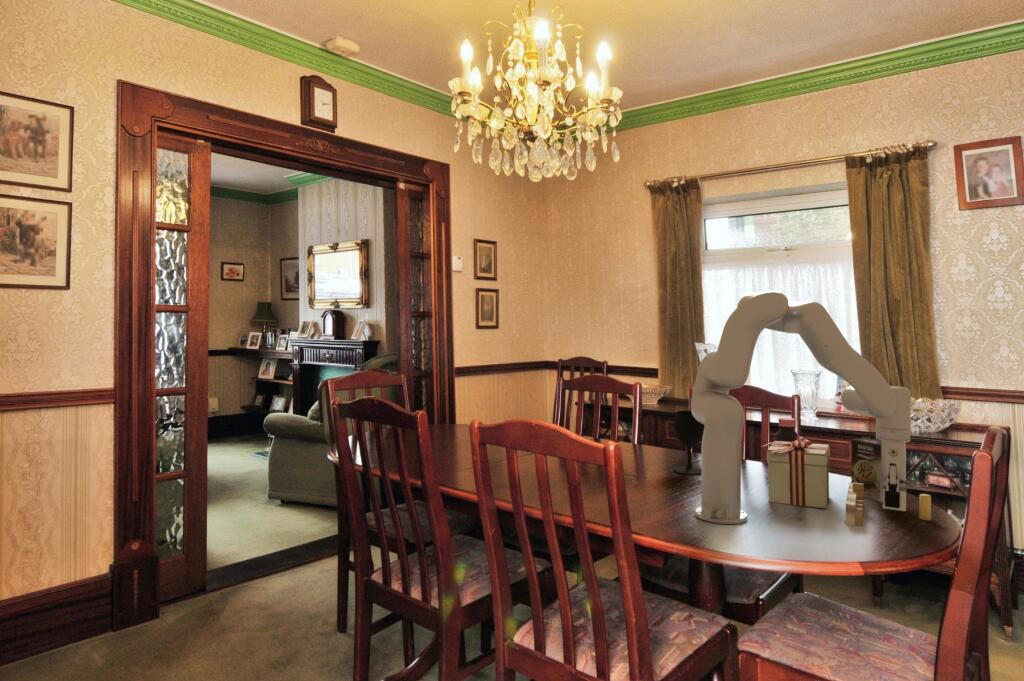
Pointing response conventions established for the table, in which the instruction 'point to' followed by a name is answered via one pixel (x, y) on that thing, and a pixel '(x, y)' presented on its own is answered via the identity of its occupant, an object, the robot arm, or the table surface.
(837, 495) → the table surface
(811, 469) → the gift box
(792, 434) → the bottle
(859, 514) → the comb fence
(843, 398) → the robot arm
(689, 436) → the wine glass
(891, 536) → the table surface
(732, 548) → the table surface
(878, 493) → the coffee box
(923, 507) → the post
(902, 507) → the beige square box
